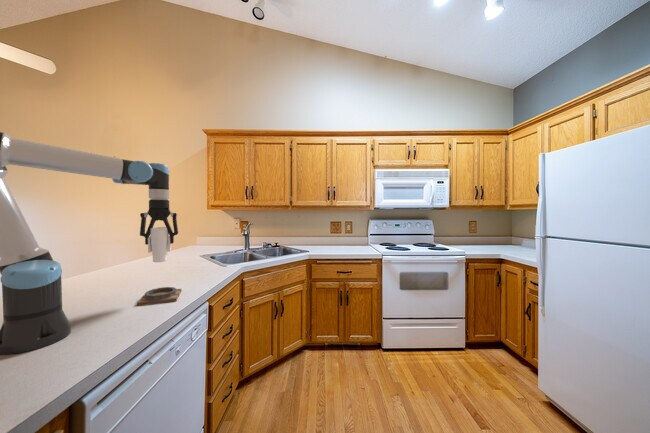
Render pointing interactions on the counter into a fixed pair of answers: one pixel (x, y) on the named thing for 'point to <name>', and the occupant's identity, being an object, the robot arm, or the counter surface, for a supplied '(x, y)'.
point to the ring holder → (160, 296)
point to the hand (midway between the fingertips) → (159, 251)
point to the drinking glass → (159, 243)
